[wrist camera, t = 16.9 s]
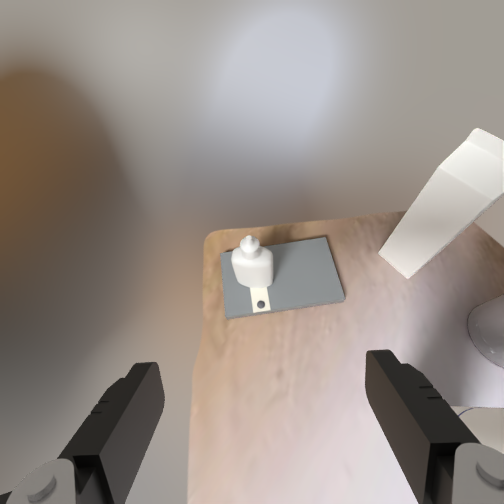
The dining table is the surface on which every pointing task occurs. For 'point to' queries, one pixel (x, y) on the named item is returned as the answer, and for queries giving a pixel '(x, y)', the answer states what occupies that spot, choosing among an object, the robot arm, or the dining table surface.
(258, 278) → the eye dropper bottle
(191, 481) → the dining table surface
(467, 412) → the cylindrical container
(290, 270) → the floor panel
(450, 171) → the milk
